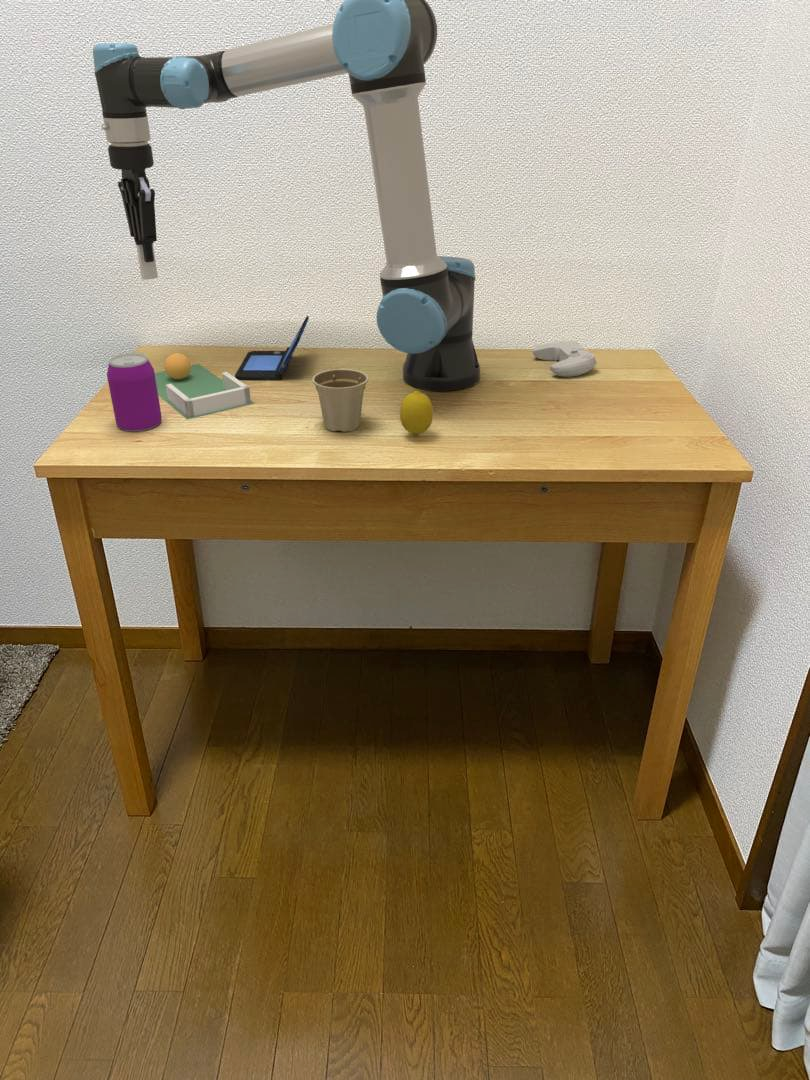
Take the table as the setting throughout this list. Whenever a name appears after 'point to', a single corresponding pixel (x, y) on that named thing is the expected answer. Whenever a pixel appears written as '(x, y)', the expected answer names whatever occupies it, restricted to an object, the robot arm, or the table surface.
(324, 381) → the flower pot
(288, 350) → the handheld game console
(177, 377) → the orange ball
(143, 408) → the beverage can
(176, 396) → the white u-shaped frame
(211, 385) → the putting mat
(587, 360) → the game controller
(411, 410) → the lemon
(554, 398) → the table surface
